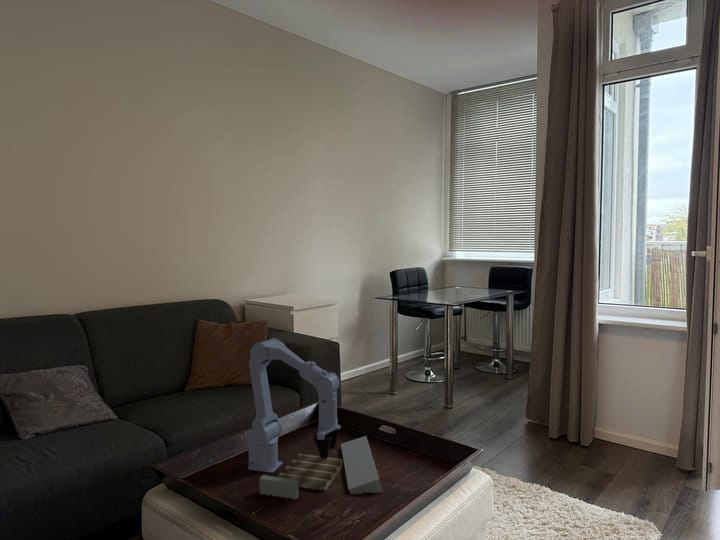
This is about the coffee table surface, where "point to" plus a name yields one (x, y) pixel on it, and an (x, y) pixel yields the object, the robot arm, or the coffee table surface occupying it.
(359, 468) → the grey rectangular block
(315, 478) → the ribbed tan slab
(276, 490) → the clay strip
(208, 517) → the coffee table surface
